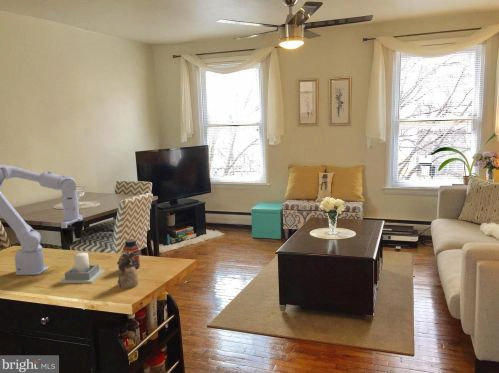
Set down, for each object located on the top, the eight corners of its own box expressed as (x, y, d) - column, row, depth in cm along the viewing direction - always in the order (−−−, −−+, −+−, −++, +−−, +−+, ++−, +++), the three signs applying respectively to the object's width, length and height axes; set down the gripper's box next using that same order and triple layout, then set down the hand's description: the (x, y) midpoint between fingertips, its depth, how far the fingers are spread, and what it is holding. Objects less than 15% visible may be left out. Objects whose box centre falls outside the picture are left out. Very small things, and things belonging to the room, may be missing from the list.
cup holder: (59, 283, 156) (58, 274, 156) (74, 271, 168) (73, 263, 167) (91, 282, 155) (91, 274, 155) (104, 271, 167) (103, 263, 167)
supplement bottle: (135, 271, 166) (133, 242, 164) (121, 270, 167) (119, 242, 166) (142, 265, 172) (140, 238, 170) (128, 265, 173) (126, 238, 171)
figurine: (120, 281, 156) (117, 249, 154) (140, 280, 156) (137, 248, 155) (115, 289, 149) (113, 256, 147) (136, 288, 149) (134, 255, 147)
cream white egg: (73, 277, 159) (71, 256, 158) (79, 272, 164) (77, 252, 163) (86, 277, 159) (84, 256, 158) (91, 272, 164) (90, 252, 163)
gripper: (72, 211, 163) (75, 246, 165) (88, 203, 177) (91, 235, 179) (54, 212, 163) (57, 246, 165) (71, 204, 177) (74, 236, 180)
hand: (74, 241), depth 172 cm, fingers open, 7 cm apart
